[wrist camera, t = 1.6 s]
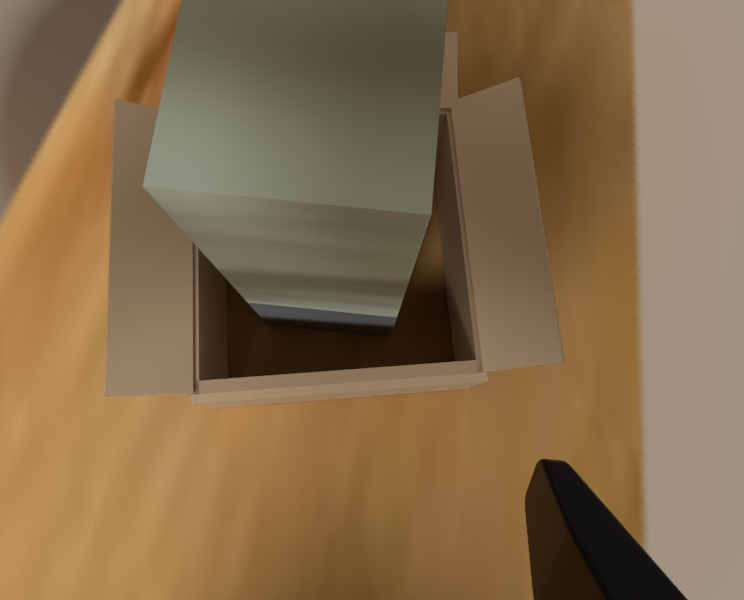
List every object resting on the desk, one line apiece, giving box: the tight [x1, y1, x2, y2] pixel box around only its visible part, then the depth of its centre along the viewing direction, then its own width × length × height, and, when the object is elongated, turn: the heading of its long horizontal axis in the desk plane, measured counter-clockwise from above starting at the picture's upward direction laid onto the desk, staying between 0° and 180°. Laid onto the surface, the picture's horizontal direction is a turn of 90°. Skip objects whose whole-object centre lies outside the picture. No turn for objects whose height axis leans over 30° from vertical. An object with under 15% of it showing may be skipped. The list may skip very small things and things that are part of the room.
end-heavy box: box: [143, 0, 448, 337], centre depth 16 cm, size 5×5×13 cm
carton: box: [105, 32, 565, 408], centre depth 20 cm, size 12×14×5 cm
